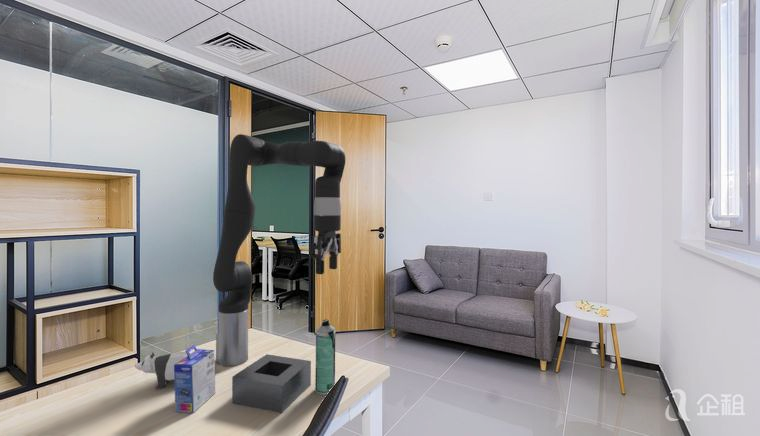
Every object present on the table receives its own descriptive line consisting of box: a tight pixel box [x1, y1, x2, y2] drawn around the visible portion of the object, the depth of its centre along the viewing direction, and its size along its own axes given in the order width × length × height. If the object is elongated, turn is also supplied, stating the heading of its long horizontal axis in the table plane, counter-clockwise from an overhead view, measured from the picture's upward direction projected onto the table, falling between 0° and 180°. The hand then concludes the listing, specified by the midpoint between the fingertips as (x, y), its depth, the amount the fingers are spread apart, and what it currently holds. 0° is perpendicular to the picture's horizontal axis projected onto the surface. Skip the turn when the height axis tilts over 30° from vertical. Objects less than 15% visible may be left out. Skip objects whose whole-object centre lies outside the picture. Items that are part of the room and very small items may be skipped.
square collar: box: [231, 354, 312, 414], centre depth 96 cm, size 15×15×7 cm
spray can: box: [314, 319, 336, 396], centre depth 98 cm, size 6×6×20 cm
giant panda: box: [134, 351, 191, 390], centre depth 100 cm, size 15×6×10 cm, turn 111°
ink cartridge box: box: [173, 344, 216, 414], centre depth 91 cm, size 10×6×14 cm, turn 174°
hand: (326, 271), depth 97 cm, fingers open, 8 cm apart
